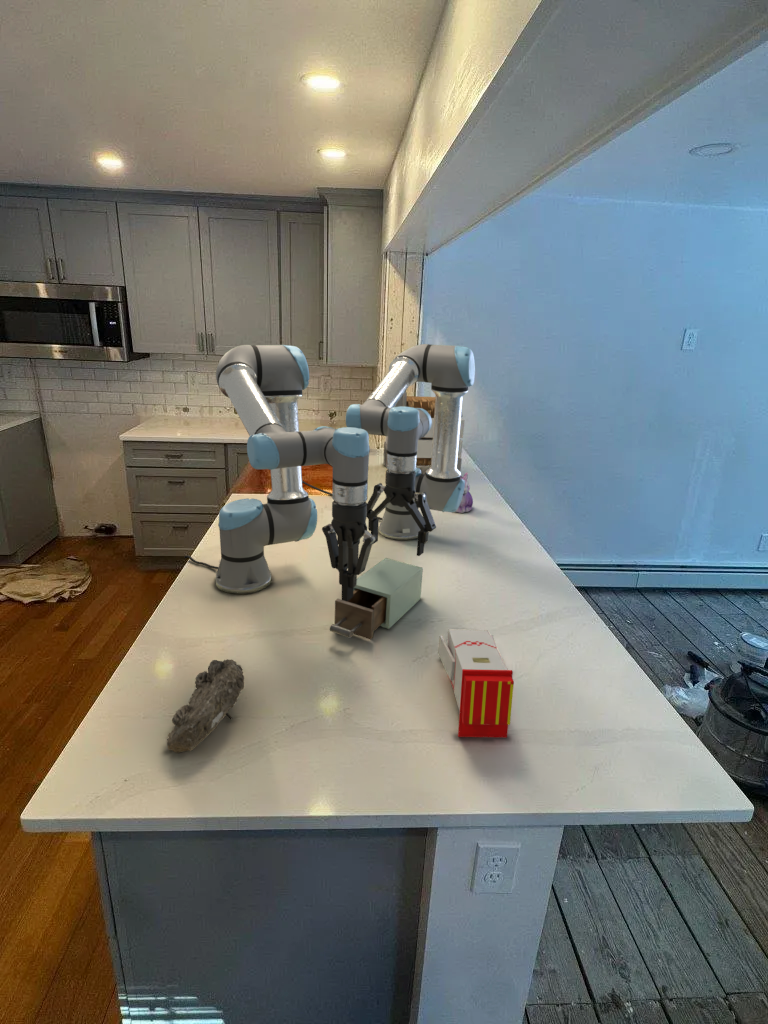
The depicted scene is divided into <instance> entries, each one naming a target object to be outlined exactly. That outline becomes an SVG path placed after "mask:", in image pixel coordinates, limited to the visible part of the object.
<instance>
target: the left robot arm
mask: <svg viewBox="0 0 768 1024" xmlns="http://www.w3.org/2000/svg"><path fill="white" fill-rule="evenodd" d="M215 380H216V384H217V386H218V388H219V390H220V392H221V393H222V394H223V395H224V396H225V397H226V398H228V399H229V400H230V402H231V404H232V406H233V408H234V409H235V412H236V413H237V415H238V418H239V419H240V421H241V422H242V424H243V426H244V428H245V430H246V432H247V434H248V436H249V437H248V438H247V442H246V453H247V457H248V462H249V464H250V466H251V467H252V468H253V469H255V470H270V483H271V484H270V485H271V491H270V492H269V493H268V494H267V496H266V501H267V502H266V503H263V502H262V501H261V500H260V499H257V498H241V499H236V500H233V501H230V502H228V503H226V504H225V505H223V506H222V507H221V508H220V510H219V512H218V530H219V544H220V545H219V546H220V560H219V564H218V566H215V565H210V564H209V563H207V562H202V561H197V560H196V559H194V558H193V557H192V556H191V555H189V554H187V555H185V556H184V559H189V560H190V561H191V562H192V563H194V564H196V565H201V566H205V567H207V568H210V569H214V570H216V573H215V585H216V587H217V589H219V590H220V591H222V592H224V593H228V594H233V595H234V594H235V595H245V594H252V593H256V592H260V591H262V590H264V589H266V588H267V587H269V586H270V584H271V583H272V572H271V570H270V566H269V565H268V561H267V559H266V557H265V547H267V546H273V545H279V544H285V543H293V542H295V543H296V542H300V541H303V540H308V539H309V538H311V537H312V536H313V535H314V533H315V531H316V529H317V525H318V510H317V505H316V502H315V501H314V499H313V498H310V496H309V492H307V490H305V489H304V486H303V483H302V481H303V471H302V467H307V466H316V465H317V466H318V465H319V466H320V465H329V466H330V467H332V478H331V479H332V492H331V493H332V500H333V501H332V502H331V517H332V520H331V522H330V523H328V524H326V525H324V526H322V528H321V530H322V533H323V535H324V537H325V541H326V546H327V550H328V555H329V560H330V561H329V562H330V565H331V568H332V569H336V570H337V571H338V584H339V585H341V600H344V601H348V600H350V599H351V598H352V597H353V588H354V587H355V586H356V584H357V578H358V576H359V575H360V574H361V575H362V573H364V572H366V568H367V564H368V561H369V558H370V553H371V550H372V546H373V545H374V544H375V543H374V541H375V540H376V539H377V537H376V535H371V532H370V531H369V530H368V525H367V503H368V502H367V501H368V487H369V486H368V485H369V484H368V483H369V481H368V480H369V463H370V462H369V461H370V449H371V447H370V436H369V435H370V434H368V433H367V431H366V430H364V429H358V428H354V427H347V426H346V427H338V428H334V427H331V426H325V425H321V426H318V427H316V428H314V429H313V430H303V431H302V430H301V431H300V424H299V423H300V422H299V421H300V420H299V409H298V408H299V406H298V403H299V401H300V400H301V399H302V397H303V391H305V390H306V389H307V388H308V387H309V383H310V369H309V364H308V361H307V359H306V356H305V354H304V352H303V351H302V349H300V348H299V347H298V346H296V345H286V344H241V345H237V346H235V347H233V348H231V349H230V350H228V351H227V352H225V353H224V355H223V356H222V357H221V358H220V360H219V362H218V363H217V367H216V369H215ZM361 539H362V542H363V543H362V545H361V548H360V544H361ZM373 543H374V544H373ZM359 550H360V552H359Z"/></svg>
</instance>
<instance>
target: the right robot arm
mask: <svg viewBox="0 0 768 1024" xmlns="http://www.w3.org/2000/svg"><path fill="white" fill-rule="evenodd" d="M475 363H476V362H475V355H474V352H473V350H472V349H471V348H470V347H467V346H461V345H451V344H450V345H449V344H430V343H421V344H416V345H413V346H411V347H409V348H407V349H405V350H403V351H402V352H400V353H399V354H397V356H395V357H394V358H393V360H391V362H390V364H389V366H388V372H387V373H386V374H385V375H384V377H383V378H382V379H381V381H379V383H378V384H377V386H376V387H375V388H374V389H373V390H372V392H371V393H370V395H369V396H368V397H367V398H366V400H365V401H364V402H363V403H362V404H360V403H353V404H350V405H349V406H348V408H347V409H346V413H345V426H346V427H354V428H358V429H364V430H366V431H367V433H368V435H374V436H383V437H386V436H387V460H386V466H385V467H386V471H385V482H384V483H385V485H383V483H381V482H379V483H377V484H374V486H373V491H372V494H371V496H370V497H369V499H368V500H367V501H368V502H366V503H367V517H366V519H367V520H368V523H367V524H368V525H367V530H368V532H370V534H371V535H376V537H377V539H376V540H375V541H374V543H373V544H372V545H374V544H376V543H378V541H379V534H380V535H381V536H382V537H385V538H387V539H389V540H395V541H410V540H415V539H417V542H416V544H417V545H416V557H420V556H421V555H423V554H424V552H425V545H426V544H427V543H428V542H429V532H430V533H431V532H433V531H434V530H436V528H437V525H436V523H435V519H434V517H433V514H432V511H435V512H436V511H437V512H441V513H444V512H446V513H456V512H455V511H456V510H457V509H458V507H459V505H460V503H461V500H462V496H463V493H464V488H465V480H463V479H461V476H462V473H460V471H459V470H458V469H457V458H458V446H459V434H460V422H461V418H462V417H461V412H462V409H463V398H464V396H465V395H466V394H467V393H468V392H469V388H471V387H473V386H474V383H475V377H476V364H475ZM416 383H426V384H427V383H428V384H429V383H430V384H431V385H430V386H431V387H430V389H431V391H432V392H433V394H434V395H435V396H434V397H435V412H434V427H433V443H432V458H431V465H430V466H429V468H427V469H426V471H425V473H422V470H421V468H419V467H417V466H416V462H417V445H418V439H420V438H422V437H424V436H425V435H426V434H427V433H428V431H429V430H430V428H431V425H432V419H431V416H430V414H429V413H428V412H427V411H426V410H424V409H421V408H413V407H395V406H396V404H397V403H398V401H399V400H400V398H401V397H402V395H403V394H404V393H405V391H406V392H407V390H408V388H409V387H412V386H413V385H415V384H416ZM302 484H303V485H305V486H308V487H309V488H311V489H313V490H316V491H319V492H320V493H323V494H326V495H328V496H332V492H329V491H327V490H325V489H322V488H318V487H317V486H314V485H312V484H310V483H308V482H306V481H304V480H302ZM382 493H384V495H385V498H384V499H383V500H382V502H381V503H380V504H379V505H378V506H377V507H376V508H375V509H374V507H375V505H376V504H377V502H378V500H379V498H380V496H381V495H382ZM373 509H374V510H373ZM431 510H432V511H431ZM383 511H384V513H383V515H382V517H380V516H378V515H379V514H380V513H382V512H383ZM379 521H381V522H379Z"/></svg>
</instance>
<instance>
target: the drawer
mask: <svg viewBox="0 0 768 1024" xmlns="http://www.w3.org/2000/svg"><path fill="white" fill-rule="evenodd" d="M386 604H387V598H386V597H383V596H380V595H376V594H373V593H370V592H366V591H363V590H360V589H356V590H355V591H353V597H352V598H351V599H350V600H348V601H344V600H342V598H341V599H340V598H336V599H335V600H334V624H333V623H331V625H330V626H329V632H332V633H335V634H337V635H340V636H343V637H346V638H349V639H352V637H353V636H354V635H355V636H358V637H362V638H364V639H367V640H370V641H371V640H373V639H374V632H375V631H376V630H377V629H378V628H379V627H381V626H380V625H381V624H382V623H383V622H384V621H385V620H386Z"/></svg>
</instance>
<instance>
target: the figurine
mask: <svg viewBox="0 0 768 1024" xmlns="http://www.w3.org/2000/svg"><path fill="white" fill-rule="evenodd" d="M461 479H463V480H465V488H464V493H463V496H462V500H461V503H460V505H459V507H458V509H457V510H456V511H455V512H454V513H462V514H463V513H468V512H470V511H471V510H472V509H473V505H474V499H473V496H472V494H471V492H470V489H471V487H470V484H469V482H468V479H469V473H468V472H465V473H464V474H463V476H462V475H461Z"/></svg>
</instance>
